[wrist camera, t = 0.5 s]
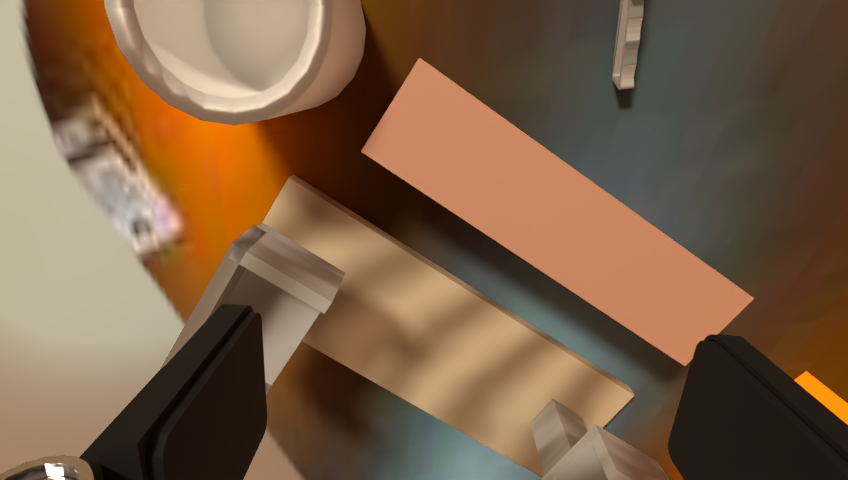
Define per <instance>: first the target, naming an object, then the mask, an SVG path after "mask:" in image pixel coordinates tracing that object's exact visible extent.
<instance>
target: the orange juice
mask: <svg viewBox="0 0 848 480" xmlns="http://www.w3.org/2000/svg"><path fill="white" fill-rule="evenodd" d="M794 381H796V382H797V383H798V384H799V385H800V386H802V387H803V388H804V389H805V390H806V391H808V392H809V393H810V394H811V395H812V396H814V397H815V398H816V399H817V400H818V401H820V402H821V403H822V404H823V405H824V406H826V407H827V408H828V409H829V410H830V411H832V412H833V413H834V414H835V415H836V416H838V417H839V418H840V419H841V420H842V421H844V422H845V423H846V424H847V425H848V404H847V403H846V402H845V401H844V400H842V399H841V398H840V397H838V396H837V395H836V394H835V393H833V392H832V391H831V390H830V389H828V388H827V387H826V386H825V385H823V384H822V383H821V382H819V381H818V380H817V379H816V378H814V377H813V376H812V375H811V374H809V373H808V372H807V371H806V372H805V373H803V374H802V375H801V376H799V377H798V378H796V379H795V380H794Z"/></svg>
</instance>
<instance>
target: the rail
mask: <svg viewBox="0 0 848 480" xmlns="http://www.w3.org/2000/svg"><path fill="white" fill-rule="evenodd" d="M361 152H362V153H364V154H365V155H367V156H368V157H370V158H371V159H373V160H374V161H376V162H377V163H379V164H380V165H382V166H383V167H385V168H386V169H388V170H389V171H391V172H392V173H394V174H395V175H397V176H398V177H400V178H401V179H403V180H404V181H406V182H407V183H409V184H410V185H412V186H413V187H415V188H417V189H418V190H420V191H421V192H423V193H424V194H426V195H427V196H429V197H430V198H432V199H433V200H435V201H436V202H438V203H439V204H441V205H442V206H444V207H445V208H447V209H448V210H450V211H451V212H453V213H454V214H456V215H457V216H459V217H460V218H462V219H463V220H465V221H466V222H468V223H469V224H471V225H472V226H474V227H475V228H477V229H478V230H480V231H481V232H483V233H484V234H486V235H487V236H489V237H490V238H492V239H493V240H495V241H497V242H498V243H500V244H501V245H503V246H504V247H506V248H507V249H509V250H510V251H512V252H513V253H515V254H516V255H518V256H519V257H521V258H522V259H524V260H525V261H527V262H528V263H530V264H531V265H533V266H534V267H536V268H537V269H539V270H540V271H542V272H543V273H545V274H546V275H548V276H549V277H551V278H552V279H554V280H555V281H557V282H558V283H560V284H561V285H563V286H564V287H566V288H567V289H569V290H570V291H572V292H573V293H575V294H576V295H578V296H580V297H581V298H583V299H584V300H586V301H587V302H589V303H590V304H592V305H593V306H595V307H596V308H598V309H599V310H601V311H602V312H604V313H605V314H607V315H608V316H610V317H611V318H613V319H614V320H616V321H617V322H619V323H620V324H622V325H623V326H625V327H626V328H628V329H629V330H631V331H632V332H634V333H635V334H637V335H638V336H640V337H641V338H643V339H644V340H646V341H647V342H649V343H650V344H652V345H653V346H655V347H656V348H658V349H660V350H661V351H663V352H664V353H666V354H667V355H669V356H670V357H672V358H673V359H675V360H676V361H678V362H679V363H681V364H682V365H684V366H686V365H687V364H688V363H689V362H690V361H691V360H692V359H693V355H694V352H695V348H696V346H697V344H698V343H699V342H700V341H704V339H705V338H706V337H707V336H708V335H711V334H714V335H717V334H718V333H719V332H720V331H721V330H723V329H724V328H725V327H726V326H727V325H728V324H729V323H730V322H731V321H732V320H733V319H734V318H735V317H736V316H737V315H738V314H739V313H740V312H741V311H742V310H743V309H744V308H745V307H746V306H747V305H748V304H749V303H750V302H751V301H752V300H753V299H754V298H753V297H752V296H750V295H749V294H747V293H746V292H745V291H743V290H742V289H740V288H739V287H738V286H736V285H735V284H733V283H732V282H731V281H729V280H728V279H727V278H725V277H724V276H722V275H721V274H720V273H718V272H717V271H715V270H714V269H713V268H711V267H710V266H708V265H707V264H706V263H704V262H703V261H701V260H700V259H699V258H697V257H696V256H695V255H693V254H692V253H690V252H689V251H688V250H686V249H685V248H683V247H682V246H681V245H679V244H678V243H676V242H675V241H674V240H672V239H671V238H670V237H668V236H667V235H665V234H664V233H663V232H661V231H660V230H658V229H657V228H656V227H654V226H653V225H651V224H650V223H649V222H647V221H646V220H645V219H643V218H642V217H640V216H639V215H638V214H636V213H635V212H633V211H632V210H631V209H629V208H628V207H626V206H625V205H624V204H622V203H621V202H619V201H618V200H617V199H615V198H614V197H613V196H611V195H610V194H608V193H607V192H606V191H604V190H603V189H601V188H600V187H599V186H597V185H596V184H594V183H593V182H592V181H590V180H589V179H588V178H586V177H585V176H583V175H582V174H581V173H579V172H578V171H576V170H575V169H574V168H572V167H571V166H569V165H568V164H567V163H565V162H564V161H562V160H561V159H560V158H558V157H557V156H556V155H554V154H553V153H551V152H550V151H549V150H547V149H546V148H544V147H543V146H542V145H540V144H539V143H537V142H536V141H535V140H533V139H532V138H531V137H529V136H528V135H526V134H525V133H524V132H522V131H521V130H519V129H518V128H517V127H515V126H514V125H512V124H511V123H510V122H508V121H507V120H506V119H504V118H503V117H501V116H500V115H499V114H497V113H496V112H494V111H493V110H492V109H490V108H489V107H487V106H486V105H485V104H483V103H482V102H480V101H479V100H478V99H476V98H475V97H474V96H472V95H471V94H469V93H468V92H467V91H465V90H464V89H462V88H461V87H460V86H458V85H457V84H455V83H454V82H453V81H451V80H450V79H449V78H447V77H446V76H444V75H443V74H442V73H440V72H439V71H437V70H436V69H435V68H433V67H432V66H430V65H429V64H428V63H426V62H425V61H423V60H422V59H421V58H419V59H418V61H417V62H416V64H415V66H414V67H413V69H412V70H411V72H410V74H409V75H408V77H407V78H406V80H405V82H404V83H403V85H402V86H401V88H400V90H399V91H398V93H397V94H396V96H395V98H394V99H393V101H392V102H391V104H390V106H389V107H388V109H387V110H386V112H385V114H384V115H383V117H382V118H381V120H380V122H379V123H378V125H377V126H376V128H375V130H374V131H373V133H372V134H371V136H370V138H369V139H368V141H367V142H366V144H365V146H364V147H363V149H362V150H361Z"/></svg>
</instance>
